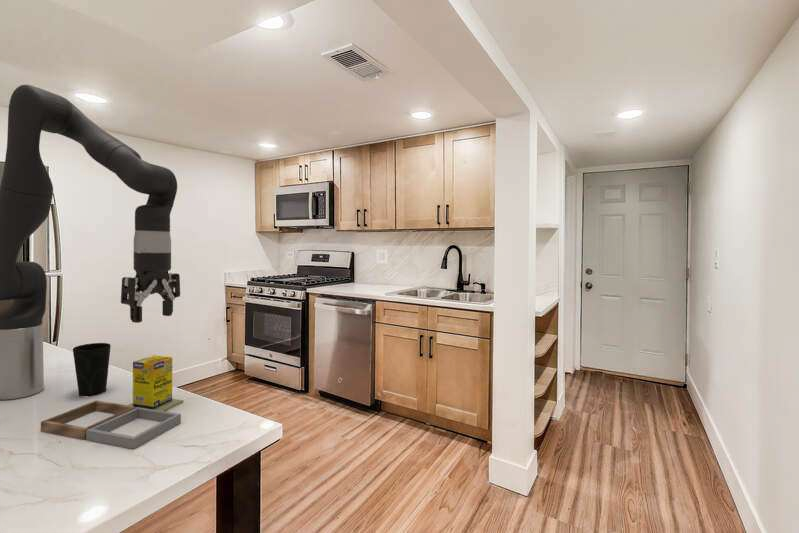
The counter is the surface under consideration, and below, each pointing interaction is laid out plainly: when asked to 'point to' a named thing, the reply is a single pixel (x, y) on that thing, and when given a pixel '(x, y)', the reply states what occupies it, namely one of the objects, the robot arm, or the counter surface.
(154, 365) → the supplement box
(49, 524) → the counter surface
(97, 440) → the grey tray
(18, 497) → the counter surface
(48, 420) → the walnut tray
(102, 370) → the cup
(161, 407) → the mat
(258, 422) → the counter surface
